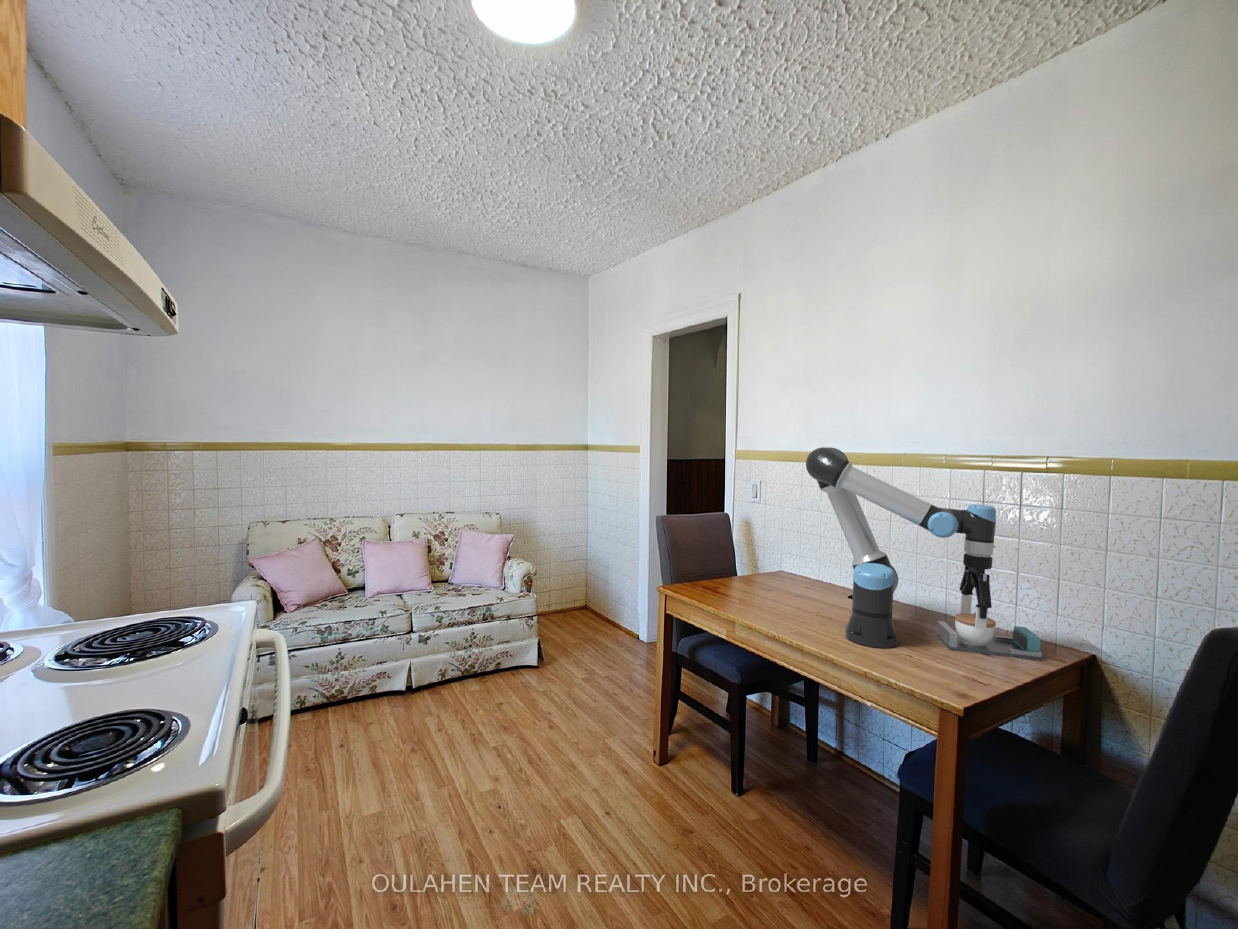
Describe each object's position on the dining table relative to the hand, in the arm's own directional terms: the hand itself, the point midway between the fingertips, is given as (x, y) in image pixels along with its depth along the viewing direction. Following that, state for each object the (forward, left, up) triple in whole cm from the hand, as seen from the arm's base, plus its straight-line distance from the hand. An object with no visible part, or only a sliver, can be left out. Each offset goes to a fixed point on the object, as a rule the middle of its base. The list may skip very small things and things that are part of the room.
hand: (972, 621), depth 170 cm
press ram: (+14, 0, -6) cm, 16 cm away
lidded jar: (+1, 0, -7) cm, 7 cm away
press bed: (+4, 0, -8) cm, 9 cm away
